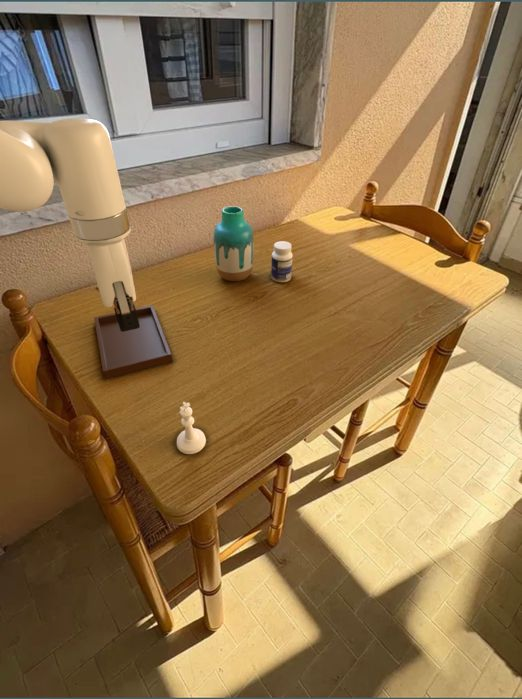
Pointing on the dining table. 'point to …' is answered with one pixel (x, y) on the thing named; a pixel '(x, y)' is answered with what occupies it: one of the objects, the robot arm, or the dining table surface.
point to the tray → (131, 343)
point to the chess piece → (189, 433)
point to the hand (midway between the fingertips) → (129, 327)
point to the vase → (233, 245)
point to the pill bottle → (281, 262)
